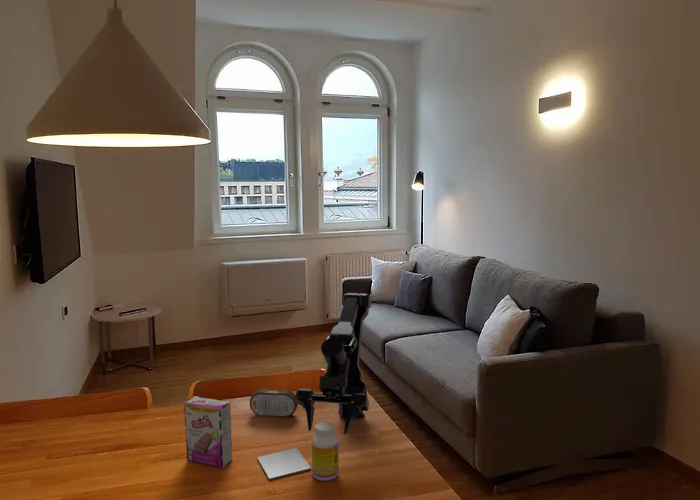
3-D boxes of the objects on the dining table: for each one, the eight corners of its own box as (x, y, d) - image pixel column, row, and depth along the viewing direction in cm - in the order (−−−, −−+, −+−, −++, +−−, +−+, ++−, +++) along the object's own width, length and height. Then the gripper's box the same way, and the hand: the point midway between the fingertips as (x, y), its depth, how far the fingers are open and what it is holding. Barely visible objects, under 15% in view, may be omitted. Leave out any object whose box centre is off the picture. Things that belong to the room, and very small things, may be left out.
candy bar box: (185, 462, 138) (182, 402, 136) (197, 452, 143) (194, 395, 141) (222, 469, 135) (220, 408, 132) (233, 459, 139) (231, 400, 137)
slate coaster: (296, 449, 144) (296, 447, 144) (311, 469, 134) (311, 467, 134) (257, 458, 140) (257, 457, 139) (269, 480, 130) (269, 478, 130)
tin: (298, 414, 165) (298, 388, 164) (296, 419, 162) (296, 393, 161) (251, 412, 167) (250, 387, 166) (248, 417, 164) (248, 391, 163)
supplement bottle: (338, 482, 129) (337, 432, 127) (311, 482, 129) (310, 432, 127) (339, 467, 135) (338, 419, 134) (313, 467, 136) (312, 419, 134)
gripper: (296, 358, 138) (284, 417, 129) (367, 363, 134) (359, 424, 125) (305, 376, 147) (294, 433, 137) (372, 381, 143) (365, 439, 134)
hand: (327, 432), depth 133 cm, fingers open, 9 cm apart
